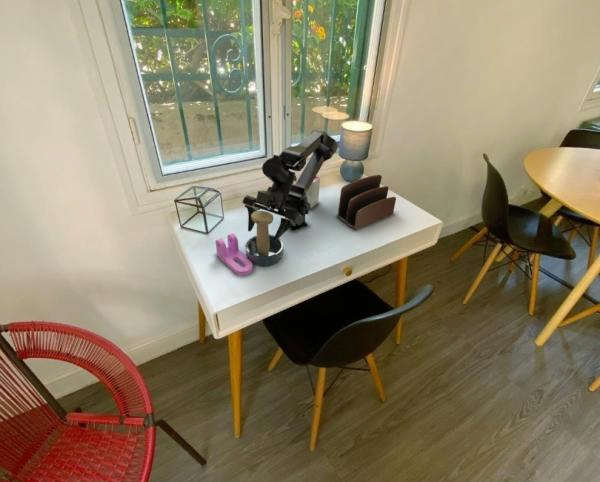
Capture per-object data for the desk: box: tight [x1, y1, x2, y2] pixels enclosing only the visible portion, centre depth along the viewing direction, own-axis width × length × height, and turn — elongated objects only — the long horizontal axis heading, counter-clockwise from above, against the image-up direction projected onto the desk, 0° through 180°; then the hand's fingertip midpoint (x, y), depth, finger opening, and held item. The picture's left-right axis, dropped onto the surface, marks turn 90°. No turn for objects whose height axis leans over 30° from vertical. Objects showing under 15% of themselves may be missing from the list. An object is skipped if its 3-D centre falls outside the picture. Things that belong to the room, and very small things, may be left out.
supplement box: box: [307, 176, 321, 210], centre depth 128 cm, size 6×6×12 cm
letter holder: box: [337, 174, 397, 231], centre depth 122 cm, size 10×20×14 cm, turn 124°
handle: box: [251, 210, 274, 256], centre depth 100 cm, size 5×6×15 cm
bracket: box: [215, 232, 254, 276], centre depth 100 cm, size 13×6×7 cm, turn 42°
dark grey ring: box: [245, 233, 284, 268], centre depth 104 cm, size 12×12×4 cm
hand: (261, 236), depth 100 cm, fingers open, 9 cm apart
